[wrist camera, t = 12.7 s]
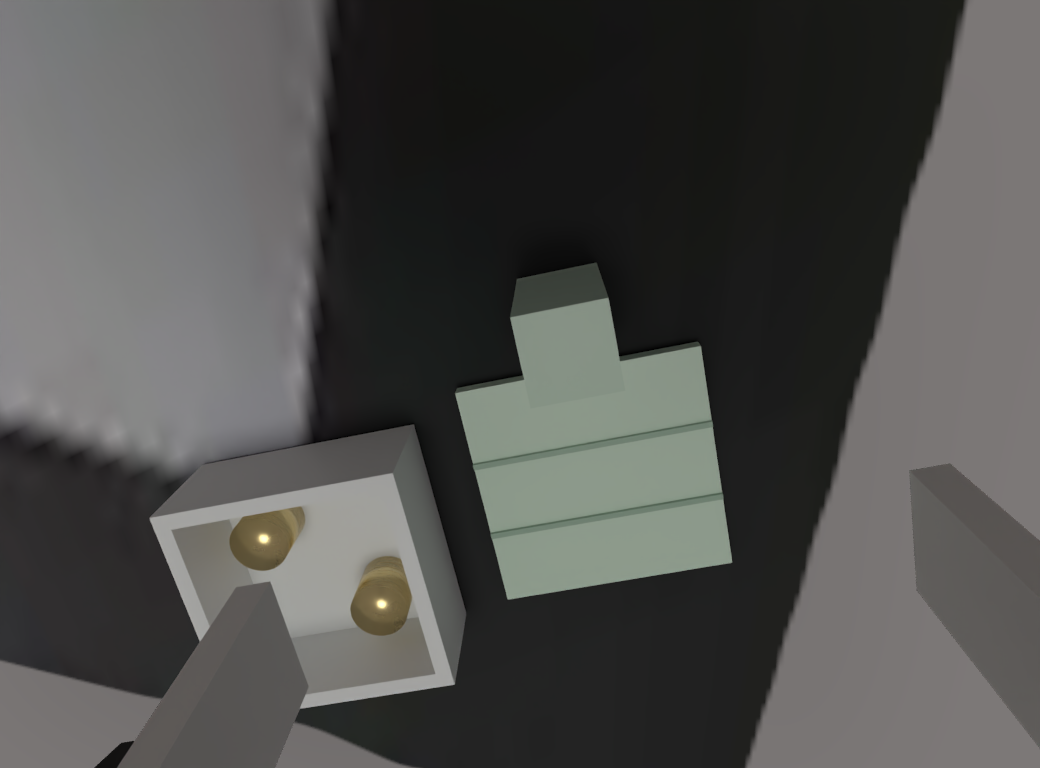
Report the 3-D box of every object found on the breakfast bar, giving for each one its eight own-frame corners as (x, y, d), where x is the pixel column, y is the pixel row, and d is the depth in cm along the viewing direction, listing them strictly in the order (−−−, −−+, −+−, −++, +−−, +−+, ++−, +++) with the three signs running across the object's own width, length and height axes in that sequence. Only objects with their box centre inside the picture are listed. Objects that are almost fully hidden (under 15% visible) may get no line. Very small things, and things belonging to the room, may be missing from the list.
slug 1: (243, 497, 42) (221, 524, 39) (295, 487, 42) (277, 514, 39) (260, 545, 43) (240, 575, 40) (312, 536, 43) (295, 565, 40)
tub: (202, 464, 43) (149, 518, 37) (413, 424, 41) (392, 472, 36) (270, 645, 46) (231, 719, 41) (466, 613, 45) (454, 684, 39)
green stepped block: (433, 296, 39) (407, 338, 32) (683, 244, 38) (716, 276, 31) (508, 591, 45) (500, 685, 37) (728, 554, 43) (766, 644, 36)
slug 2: (356, 560, 43) (343, 591, 40) (408, 551, 43) (399, 582, 40) (371, 606, 44) (359, 639, 41) (422, 597, 44) (413, 630, 41)
